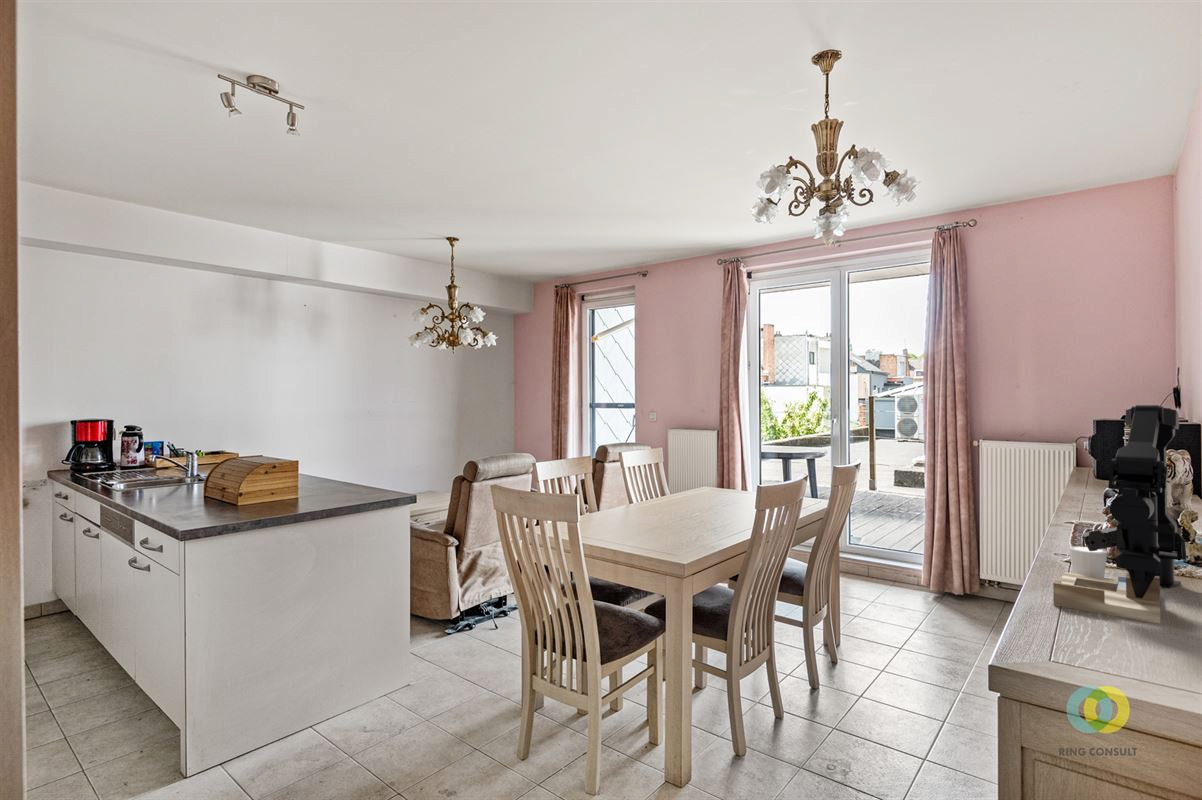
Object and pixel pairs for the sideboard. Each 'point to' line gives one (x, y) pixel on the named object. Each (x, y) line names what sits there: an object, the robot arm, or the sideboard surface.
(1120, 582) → the strip
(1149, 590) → the walnut block
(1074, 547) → the white cylinder
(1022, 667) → the sideboard surface
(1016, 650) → the sideboard surface
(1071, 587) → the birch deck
